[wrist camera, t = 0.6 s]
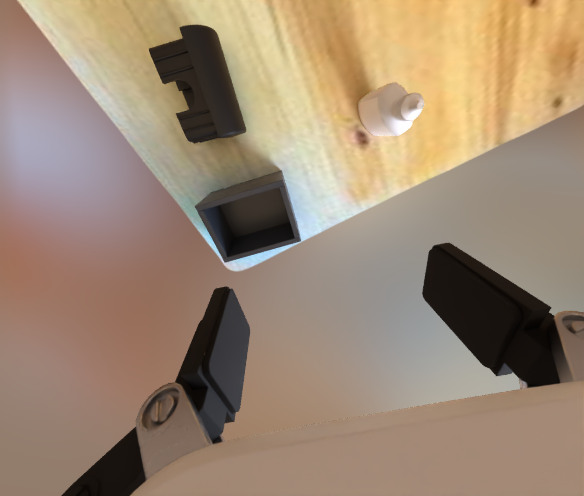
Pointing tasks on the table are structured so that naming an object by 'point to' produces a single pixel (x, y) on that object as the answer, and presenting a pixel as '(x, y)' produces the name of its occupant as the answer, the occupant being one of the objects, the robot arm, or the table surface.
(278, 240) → the box
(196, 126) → the end cap
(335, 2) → the table surface
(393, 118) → the eye dropper bottle
